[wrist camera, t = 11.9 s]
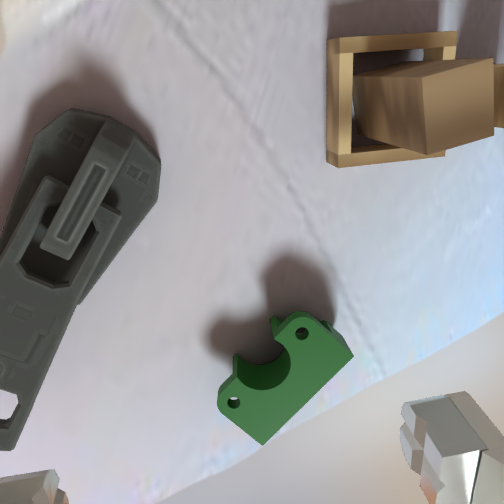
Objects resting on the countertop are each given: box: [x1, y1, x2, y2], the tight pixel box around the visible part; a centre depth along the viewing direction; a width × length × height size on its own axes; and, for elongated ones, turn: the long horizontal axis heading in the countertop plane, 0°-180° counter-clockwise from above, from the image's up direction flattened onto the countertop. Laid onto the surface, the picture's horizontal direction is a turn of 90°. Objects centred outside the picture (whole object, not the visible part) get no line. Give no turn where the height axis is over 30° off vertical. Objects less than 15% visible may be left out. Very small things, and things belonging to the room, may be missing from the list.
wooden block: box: [352, 58, 494, 155], centre depth 31 cm, size 4×4×10 cm
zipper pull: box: [0, 109, 161, 451], centre depth 32 cm, size 9×7×25 cm
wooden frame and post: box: [327, 31, 504, 168], centre depth 27 cm, size 9×15×19 cm, turn 94°
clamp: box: [217, 311, 354, 446], centre depth 40 cm, size 12×6×9 cm, turn 130°
